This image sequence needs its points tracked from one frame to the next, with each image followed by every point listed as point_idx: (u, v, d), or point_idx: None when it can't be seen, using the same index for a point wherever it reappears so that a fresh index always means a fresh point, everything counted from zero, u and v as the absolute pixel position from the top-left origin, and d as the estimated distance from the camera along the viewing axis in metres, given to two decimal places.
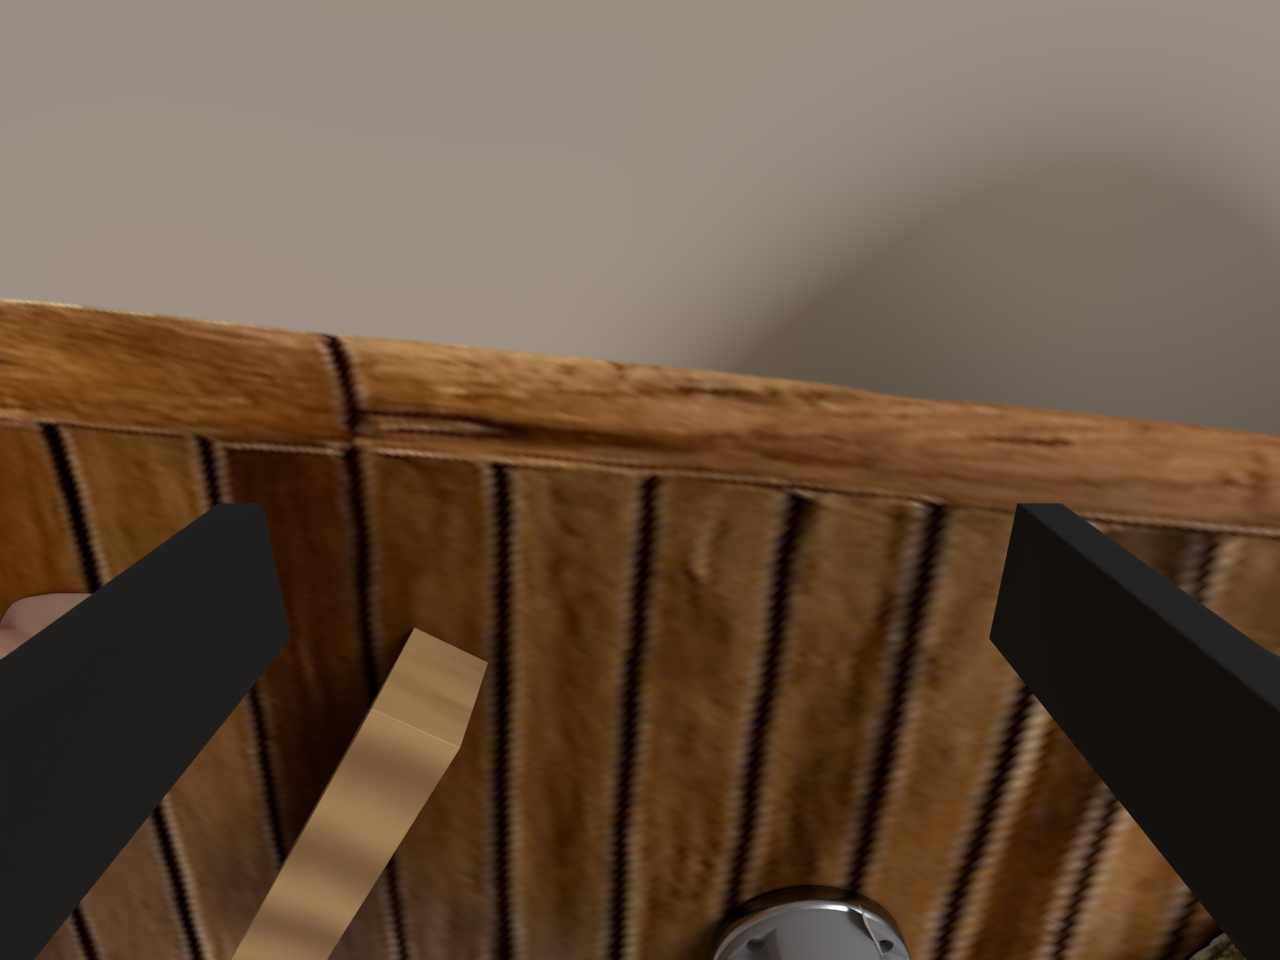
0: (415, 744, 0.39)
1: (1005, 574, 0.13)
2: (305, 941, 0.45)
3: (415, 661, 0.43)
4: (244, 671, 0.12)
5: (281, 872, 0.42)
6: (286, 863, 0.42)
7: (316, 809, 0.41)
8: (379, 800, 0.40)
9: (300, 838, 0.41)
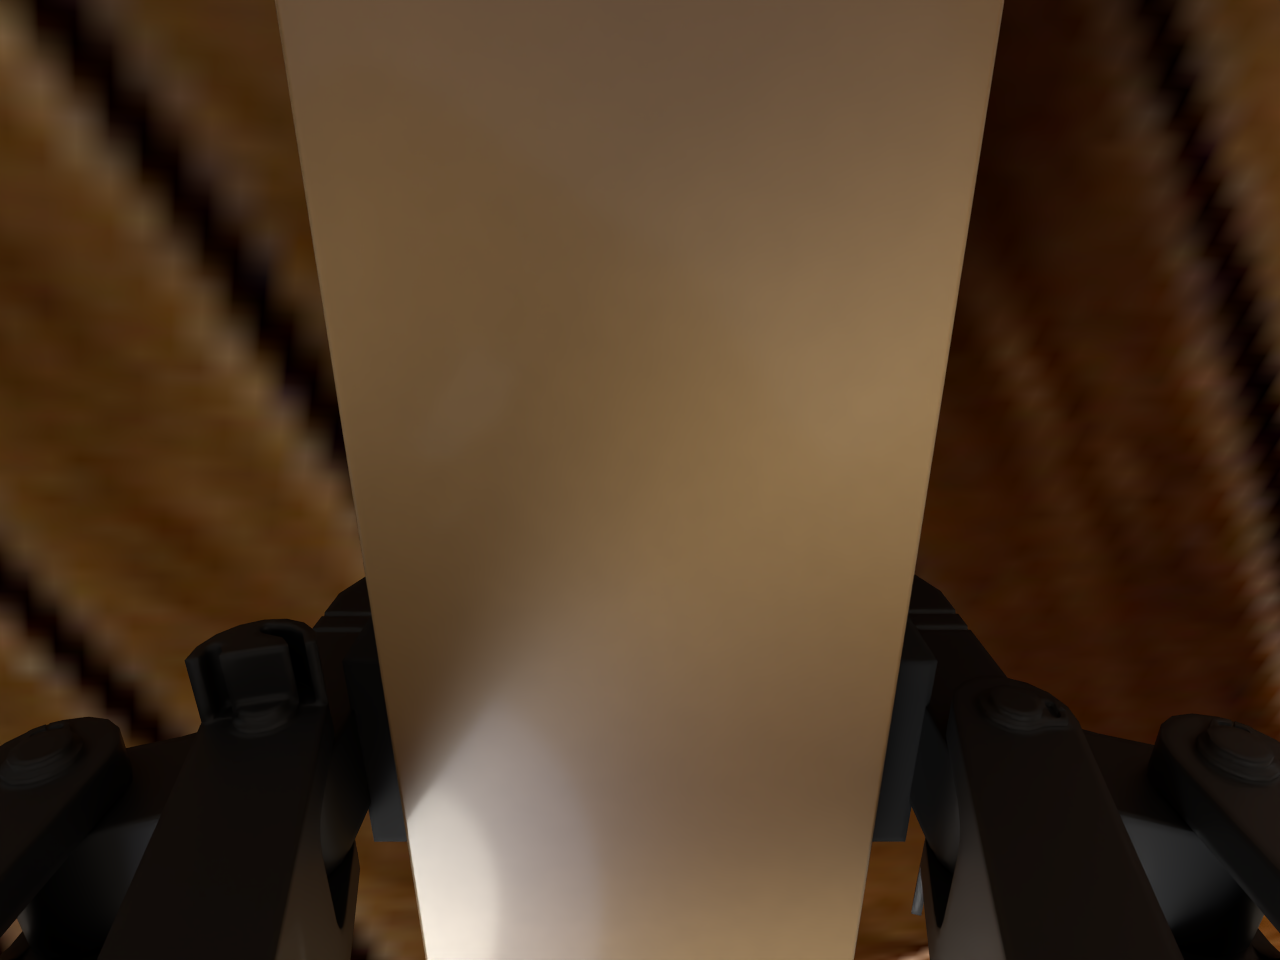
0: (606, 940, 0.09)
1: None
2: None
3: None
4: None
5: None
6: None
7: (944, 341, 0.06)
8: (609, 600, 0.07)
9: None
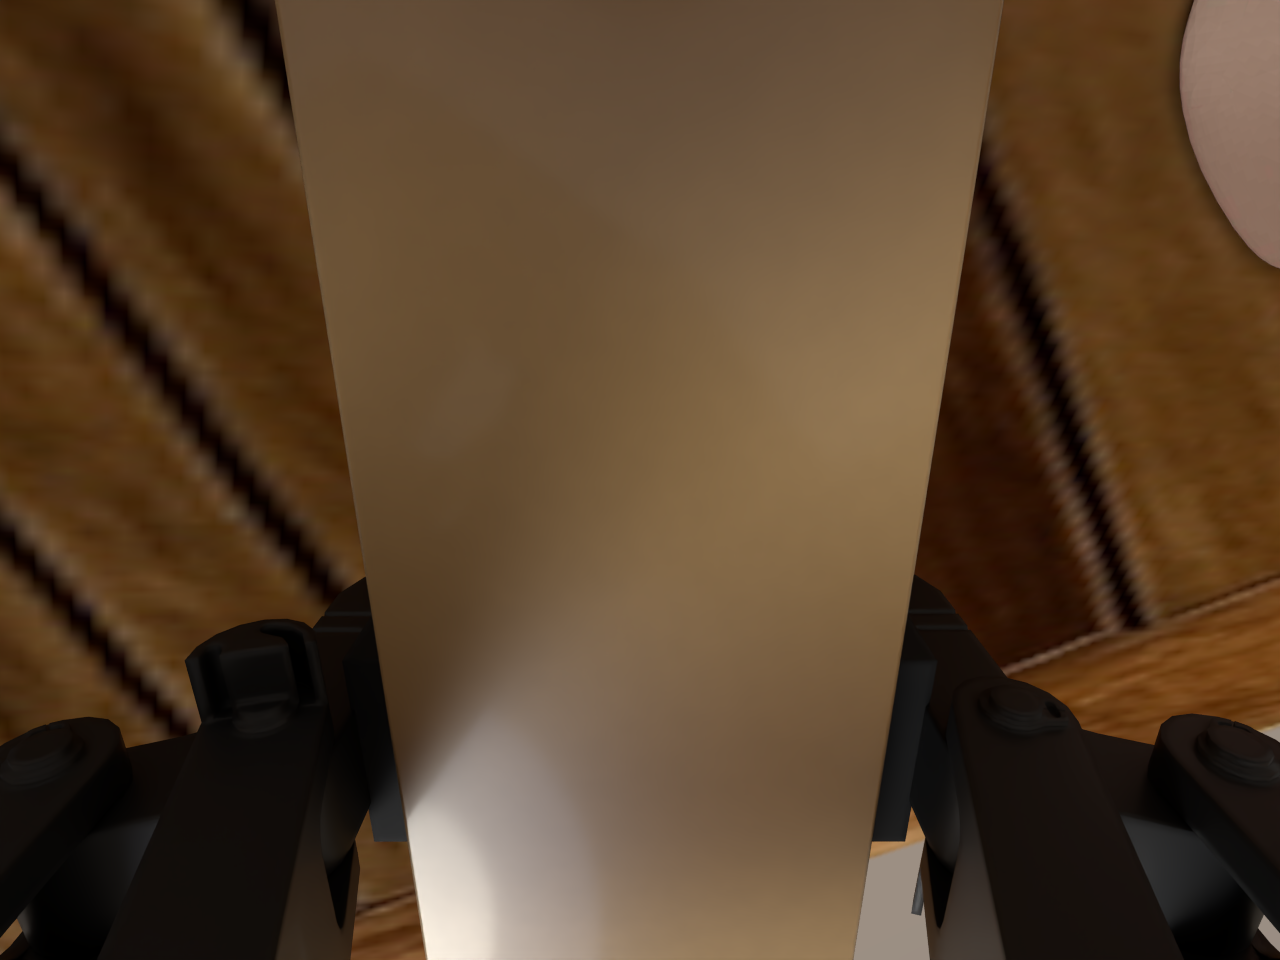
0: (606, 940, 0.09)
1: None
2: None
3: None
4: None
5: None
6: None
7: (943, 342, 0.06)
8: (609, 601, 0.07)
9: None
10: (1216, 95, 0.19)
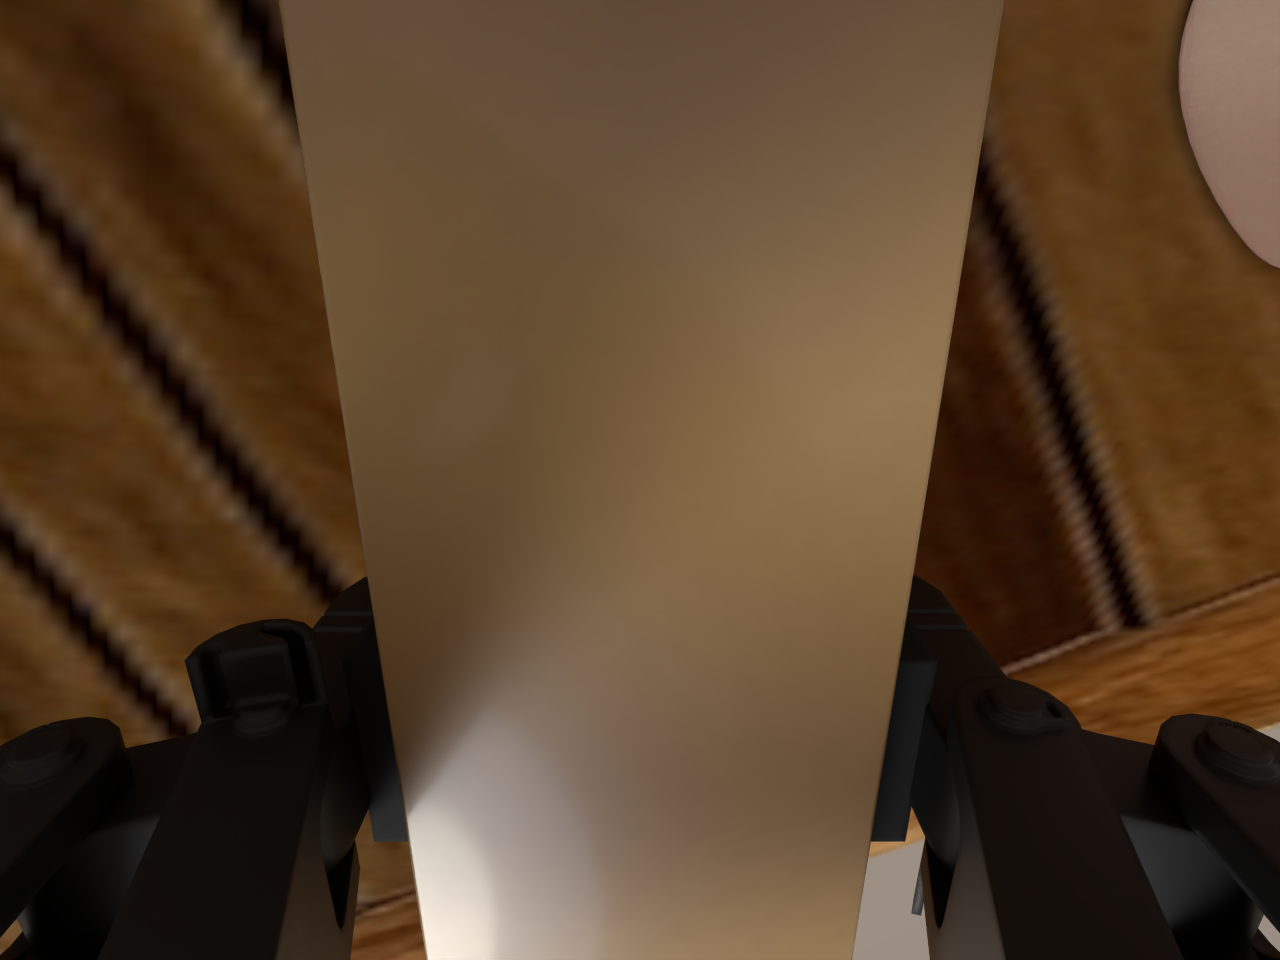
0: (605, 938, 0.09)
1: None
2: None
3: None
4: None
5: None
6: None
7: (943, 342, 0.06)
8: (609, 600, 0.07)
9: None
10: (1215, 94, 0.19)
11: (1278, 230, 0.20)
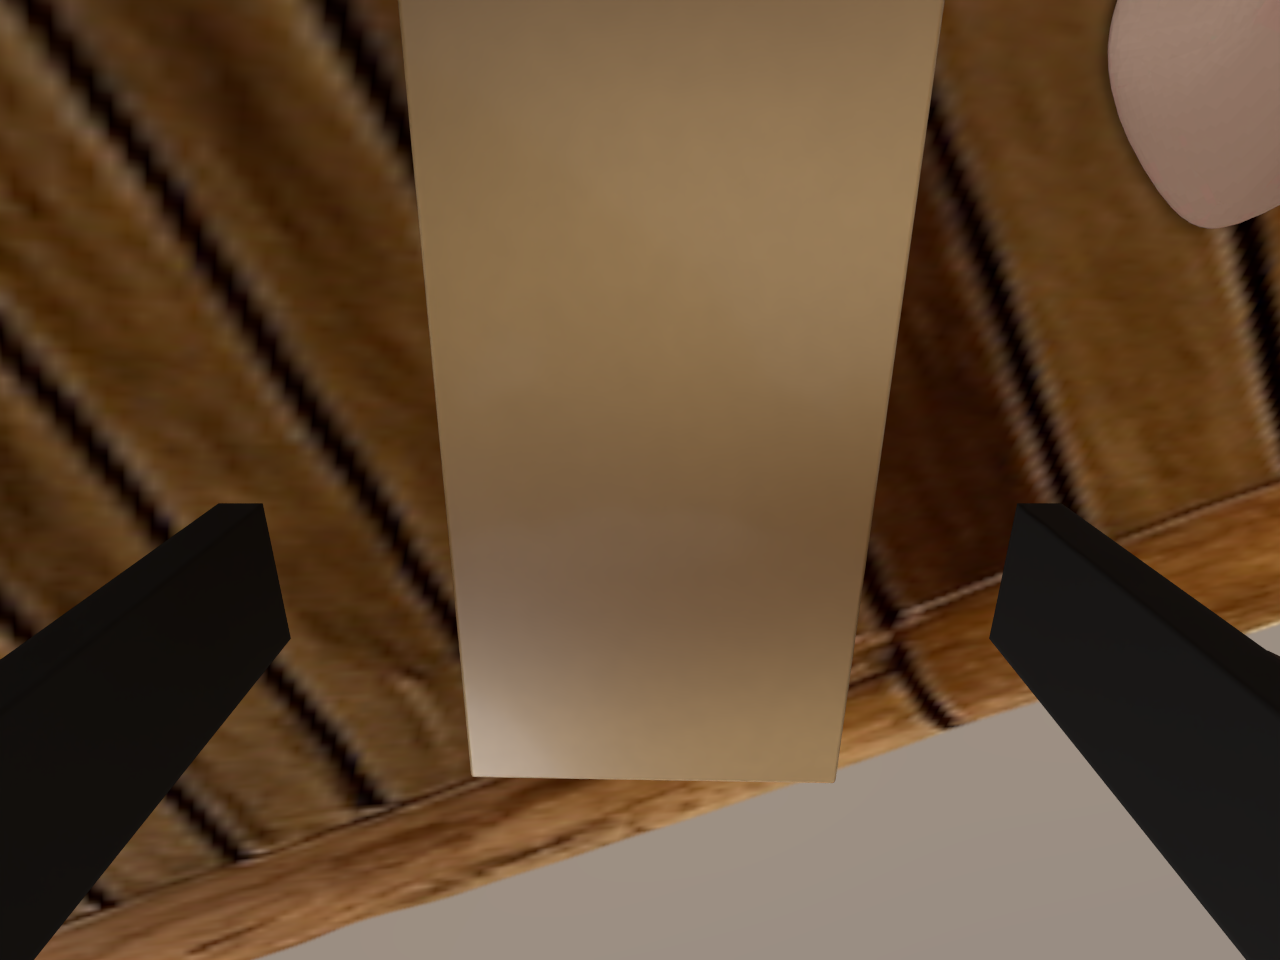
0: (625, 723, 0.10)
1: (1005, 574, 0.13)
2: None
3: None
4: (244, 671, 0.12)
5: None
6: None
7: (916, 159, 0.07)
8: (635, 394, 0.08)
9: None
10: (1137, 76, 0.23)
11: (1195, 192, 0.24)
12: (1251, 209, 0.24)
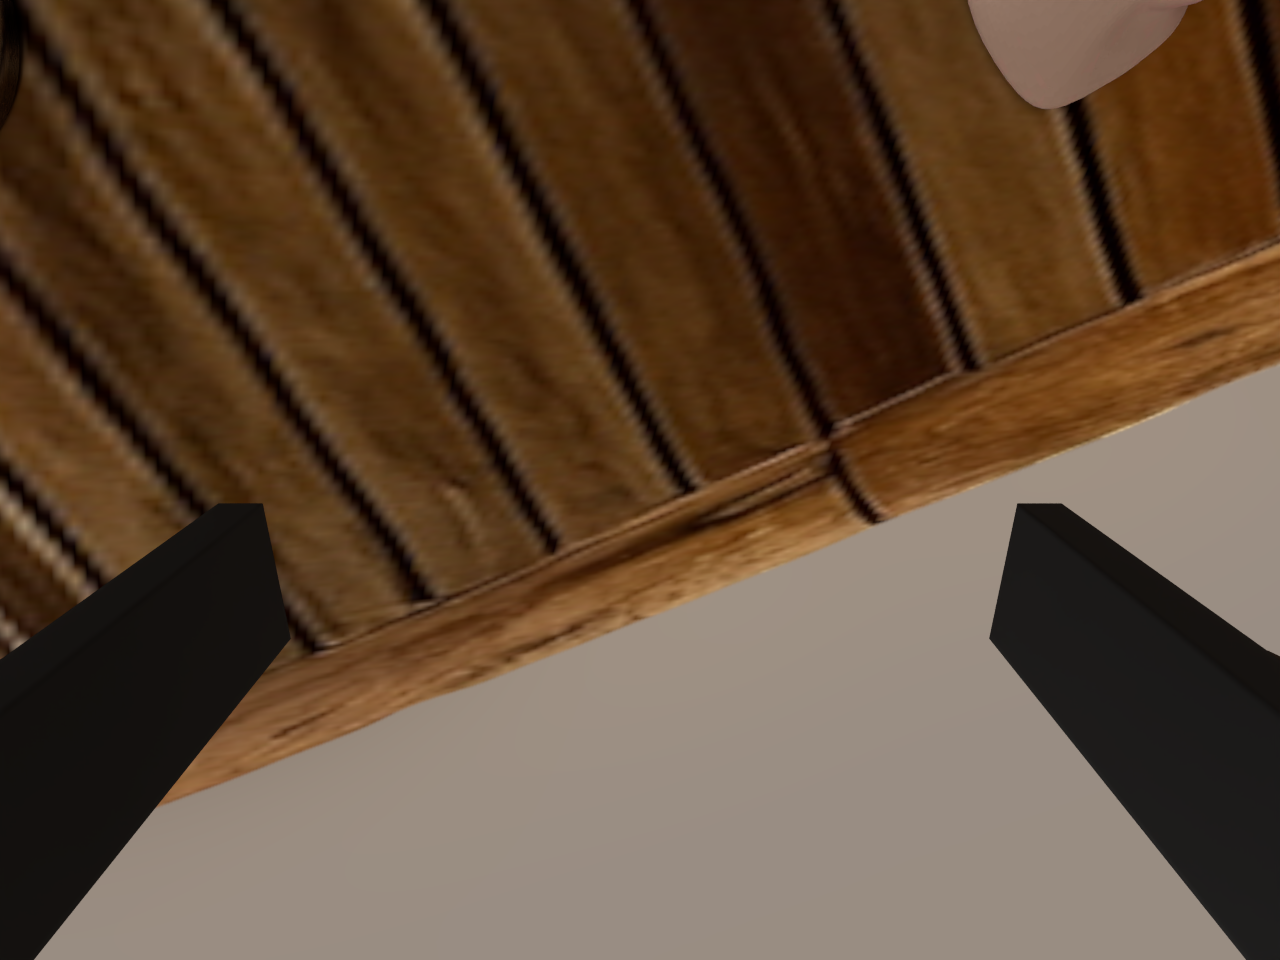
0: None
1: (1005, 574, 0.13)
2: None
3: None
4: (244, 671, 0.12)
5: None
6: None
7: None
8: None
9: None
10: None
11: (1031, 80, 0.33)
12: (1073, 92, 0.33)
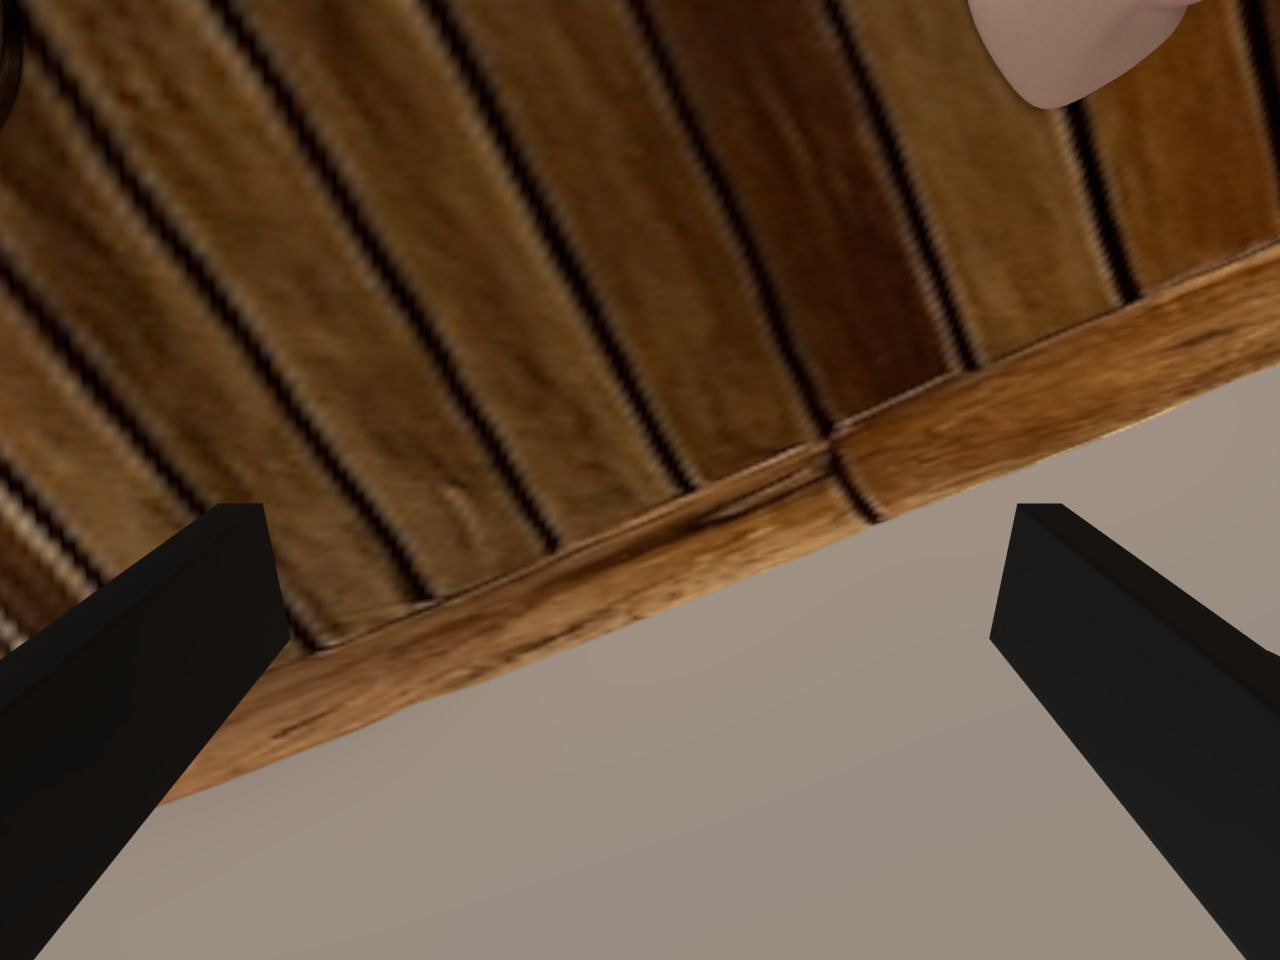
0: None
1: (1005, 574, 0.13)
2: None
3: None
4: (244, 671, 0.12)
5: None
6: None
7: None
8: None
9: None
10: None
11: (1031, 80, 0.33)
12: (1073, 92, 0.33)
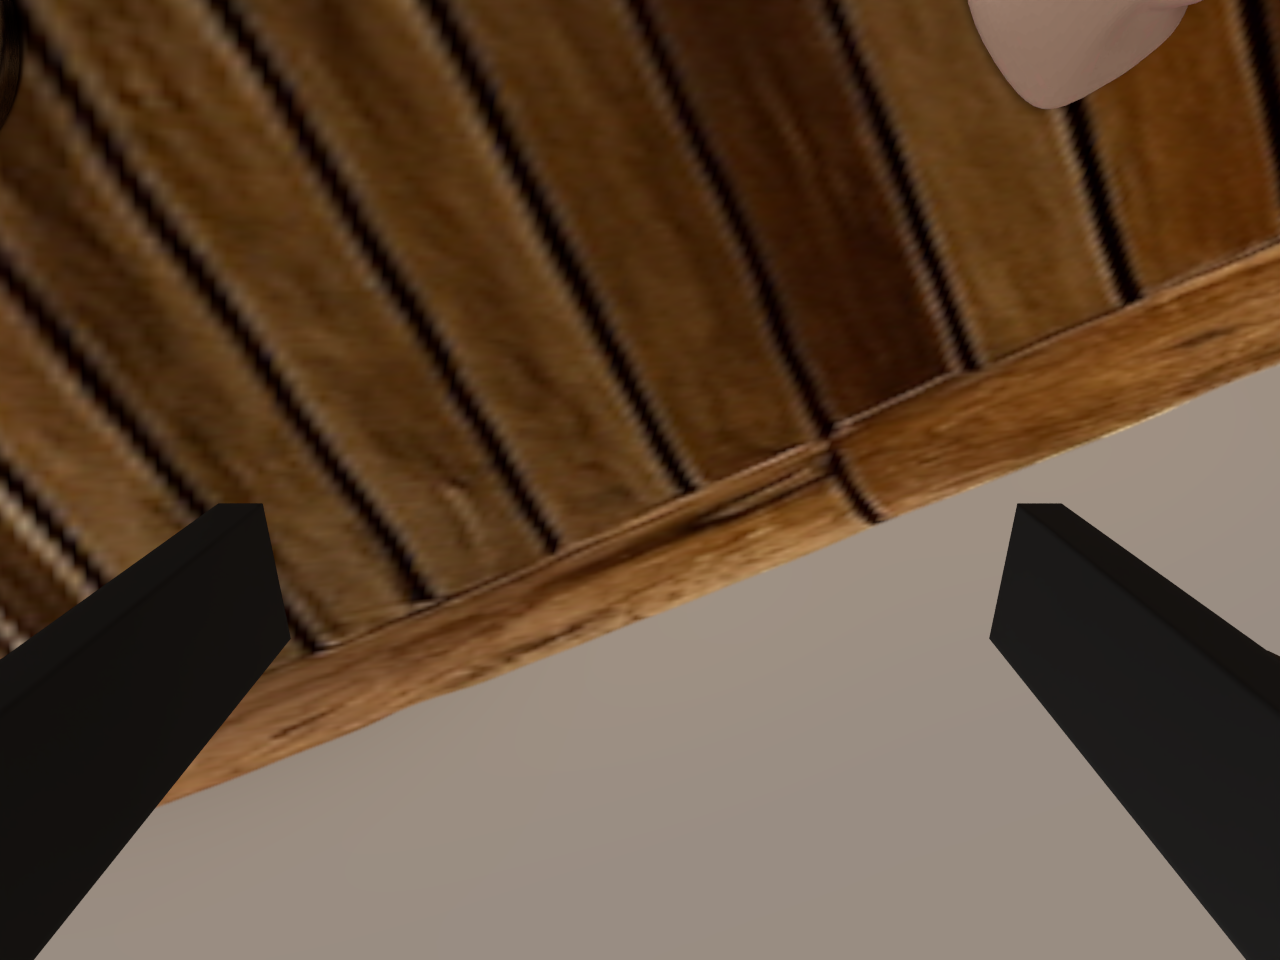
0: None
1: (1005, 574, 0.13)
2: None
3: None
4: (244, 671, 0.12)
5: None
6: None
7: None
8: None
9: None
10: None
11: (1031, 80, 0.33)
12: (1073, 92, 0.33)
